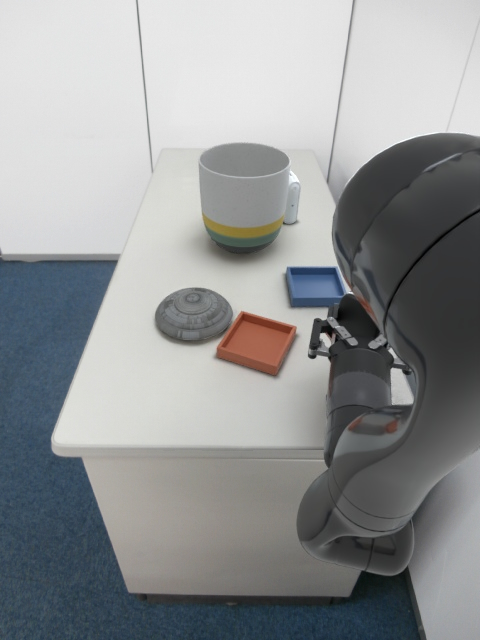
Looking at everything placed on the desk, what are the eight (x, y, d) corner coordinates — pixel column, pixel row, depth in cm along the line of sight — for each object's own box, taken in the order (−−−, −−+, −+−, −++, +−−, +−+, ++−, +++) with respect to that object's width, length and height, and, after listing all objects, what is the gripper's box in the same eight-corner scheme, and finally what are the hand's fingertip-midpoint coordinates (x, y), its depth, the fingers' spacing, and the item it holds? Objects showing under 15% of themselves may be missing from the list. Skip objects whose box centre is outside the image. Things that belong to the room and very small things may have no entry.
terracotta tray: (295, 335, 85) (296, 326, 84) (275, 375, 78) (276, 366, 76) (241, 319, 89) (241, 310, 87) (216, 356, 81) (216, 347, 79)
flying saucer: (141, 334, 85) (137, 311, 81) (176, 289, 96) (174, 267, 92) (215, 354, 81) (214, 331, 78) (243, 305, 92) (243, 283, 88)
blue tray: (346, 306, 92) (348, 297, 91) (292, 306, 92) (293, 297, 90) (335, 274, 101) (337, 266, 99) (285, 275, 100) (286, 266, 99)
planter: (297, 257, 106) (308, 168, 92) (220, 276, 100) (219, 183, 86) (260, 220, 119) (265, 137, 105) (190, 234, 113) (185, 148, 99)
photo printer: (299, 222, 119) (304, 177, 111) (284, 225, 117) (288, 179, 109) (282, 205, 126) (286, 161, 118) (268, 208, 125) (271, 163, 117)
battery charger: (380, 360, 69) (398, 301, 62) (366, 373, 67) (383, 313, 60) (342, 338, 73) (355, 280, 66) (328, 349, 71) (340, 290, 64)
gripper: (429, 385, 51) (418, 298, 63) (303, 363, 54) (316, 284, 66) (412, 425, 56) (405, 338, 68) (297, 404, 58) (310, 323, 71)
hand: (362, 311), depth 67 cm, fingers closed on battery charger, 7 cm apart
